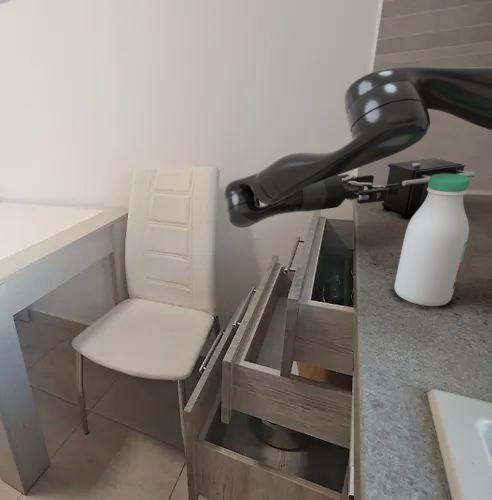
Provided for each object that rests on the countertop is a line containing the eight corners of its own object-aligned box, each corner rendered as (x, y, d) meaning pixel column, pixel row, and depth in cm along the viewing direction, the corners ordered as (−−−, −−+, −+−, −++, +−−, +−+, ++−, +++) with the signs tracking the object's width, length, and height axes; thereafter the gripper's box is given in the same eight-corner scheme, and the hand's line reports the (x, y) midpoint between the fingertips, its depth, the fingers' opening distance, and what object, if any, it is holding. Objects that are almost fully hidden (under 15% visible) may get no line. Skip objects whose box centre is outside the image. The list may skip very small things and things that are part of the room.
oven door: (469, 210, 86) (480, 168, 82) (398, 220, 85) (406, 178, 81) (452, 205, 90) (462, 164, 86) (385, 214, 89) (392, 174, 85)
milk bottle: (444, 313, 56) (479, 186, 48) (387, 297, 62) (410, 180, 53) (455, 292, 61) (489, 172, 53) (401, 279, 66) (424, 168, 58)
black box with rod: (449, 212, 91) (462, 160, 86) (404, 218, 90) (414, 166, 85) (423, 203, 99) (433, 154, 93) (380, 208, 98) (388, 160, 93)
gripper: (336, 184, 73) (413, 173, 74) (300, 169, 86) (366, 161, 87) (331, 219, 76) (406, 209, 77) (298, 200, 89) (362, 192, 90)
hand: (385, 183), depth 82 cm, fingers open, 8 cm apart
